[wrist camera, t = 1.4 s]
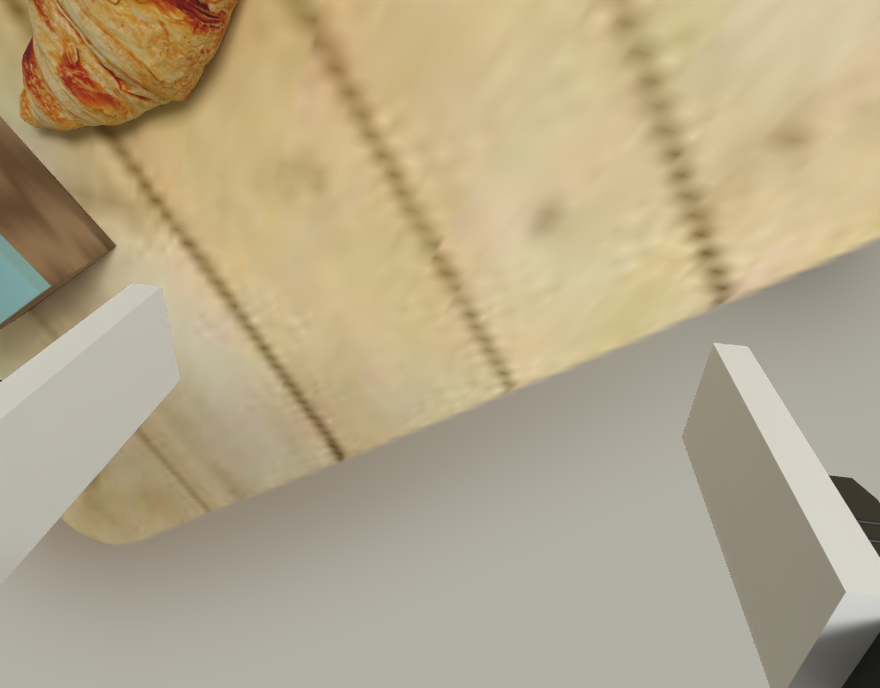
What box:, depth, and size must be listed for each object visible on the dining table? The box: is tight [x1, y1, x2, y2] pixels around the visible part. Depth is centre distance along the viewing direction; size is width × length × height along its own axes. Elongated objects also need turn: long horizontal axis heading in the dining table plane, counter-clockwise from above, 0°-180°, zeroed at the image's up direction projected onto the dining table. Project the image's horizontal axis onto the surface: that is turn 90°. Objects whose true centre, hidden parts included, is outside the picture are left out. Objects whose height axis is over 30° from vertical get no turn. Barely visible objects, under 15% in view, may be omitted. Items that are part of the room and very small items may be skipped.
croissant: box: [20, 0, 238, 132], centre depth 33 cm, size 21×10×8 cm, turn 128°
